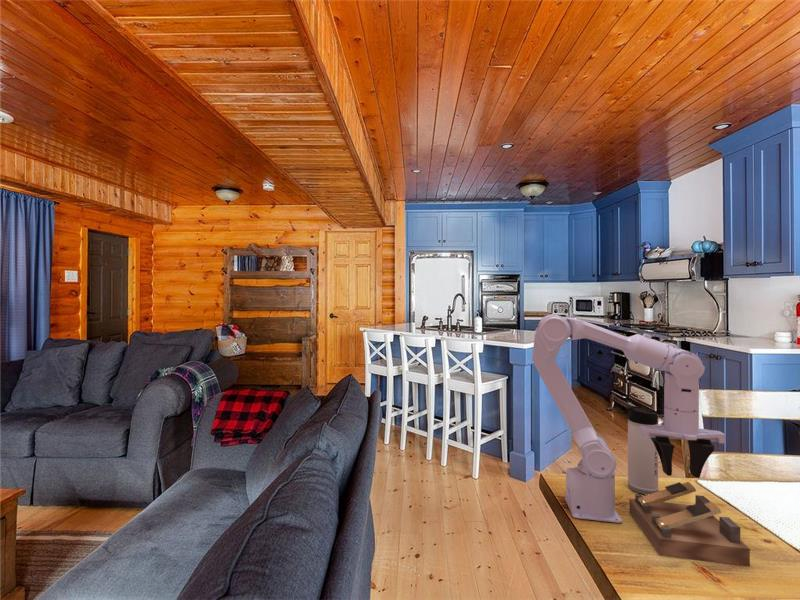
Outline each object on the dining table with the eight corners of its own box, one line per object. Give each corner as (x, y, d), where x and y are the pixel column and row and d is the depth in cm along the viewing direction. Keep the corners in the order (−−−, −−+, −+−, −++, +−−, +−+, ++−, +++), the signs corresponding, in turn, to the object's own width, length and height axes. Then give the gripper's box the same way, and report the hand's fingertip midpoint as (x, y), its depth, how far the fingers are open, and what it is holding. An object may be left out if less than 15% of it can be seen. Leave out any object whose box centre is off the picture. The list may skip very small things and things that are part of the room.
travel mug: (622, 481, 96) (622, 403, 97) (651, 484, 95) (651, 404, 95) (632, 494, 90) (632, 410, 90) (663, 497, 89) (663, 411, 89)
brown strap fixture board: (659, 555, 69) (659, 522, 69) (629, 512, 82) (629, 486, 82) (749, 566, 66) (749, 532, 66) (703, 520, 80) (703, 492, 80)
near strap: (662, 532, 70) (659, 525, 70) (656, 524, 73) (653, 517, 73) (722, 514, 68) (718, 506, 68) (713, 506, 71) (710, 499, 71)
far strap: (644, 508, 78) (641, 502, 78) (639, 502, 80) (636, 496, 81) (697, 492, 76) (694, 485, 76) (690, 485, 79) (687, 479, 79)
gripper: (650, 411, 75) (650, 480, 75) (735, 416, 72) (734, 487, 72) (635, 402, 82) (635, 465, 82) (712, 406, 79) (712, 471, 79)
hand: (681, 474), depth 78 cm, fingers open, 4 cm apart
